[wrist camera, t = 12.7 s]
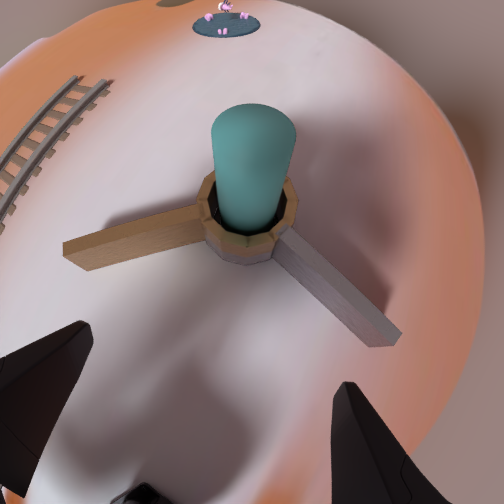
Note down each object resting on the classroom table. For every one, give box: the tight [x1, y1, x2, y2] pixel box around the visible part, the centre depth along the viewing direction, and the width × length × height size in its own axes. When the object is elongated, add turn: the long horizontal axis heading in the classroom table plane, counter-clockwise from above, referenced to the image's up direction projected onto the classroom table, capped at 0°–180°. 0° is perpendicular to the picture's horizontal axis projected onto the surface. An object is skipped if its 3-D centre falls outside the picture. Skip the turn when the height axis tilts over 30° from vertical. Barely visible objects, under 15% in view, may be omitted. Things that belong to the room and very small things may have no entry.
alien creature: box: [192, 0, 260, 38], centre depth 35 cm, size 12×12×7 cm
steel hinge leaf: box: [205, 195, 402, 347], centre depth 22 cm, size 7×19×4 cm, turn 46°
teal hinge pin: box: [211, 104, 296, 237], centre depth 20 cm, size 4×4×12 cm
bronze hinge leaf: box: [63, 170, 298, 271], centre depth 22 cm, size 17×12×4 cm
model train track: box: [0, 76, 110, 235], centre depth 27 cm, size 11×31×2 cm, turn 154°
